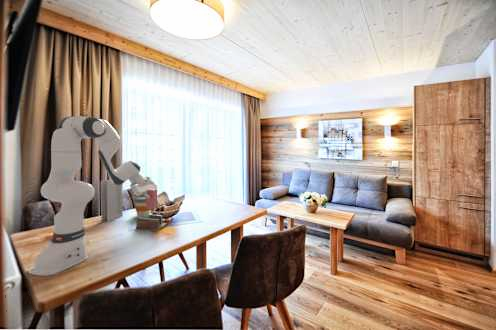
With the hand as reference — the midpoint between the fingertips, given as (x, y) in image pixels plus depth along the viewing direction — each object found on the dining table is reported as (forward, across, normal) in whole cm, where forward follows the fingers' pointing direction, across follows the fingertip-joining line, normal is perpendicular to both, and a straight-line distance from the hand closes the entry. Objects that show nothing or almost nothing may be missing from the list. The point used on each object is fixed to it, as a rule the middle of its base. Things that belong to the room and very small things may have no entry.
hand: (152, 196), depth 149 cm
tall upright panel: (-12, +9, +44) cm, 46 cm away
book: (+5, 0, +6) cm, 8 cm away
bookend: (+14, +4, +15) cm, 21 cm away
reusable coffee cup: (0, +20, +31) cm, 37 cm away
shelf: (+15, 0, +16) cm, 22 cm away
